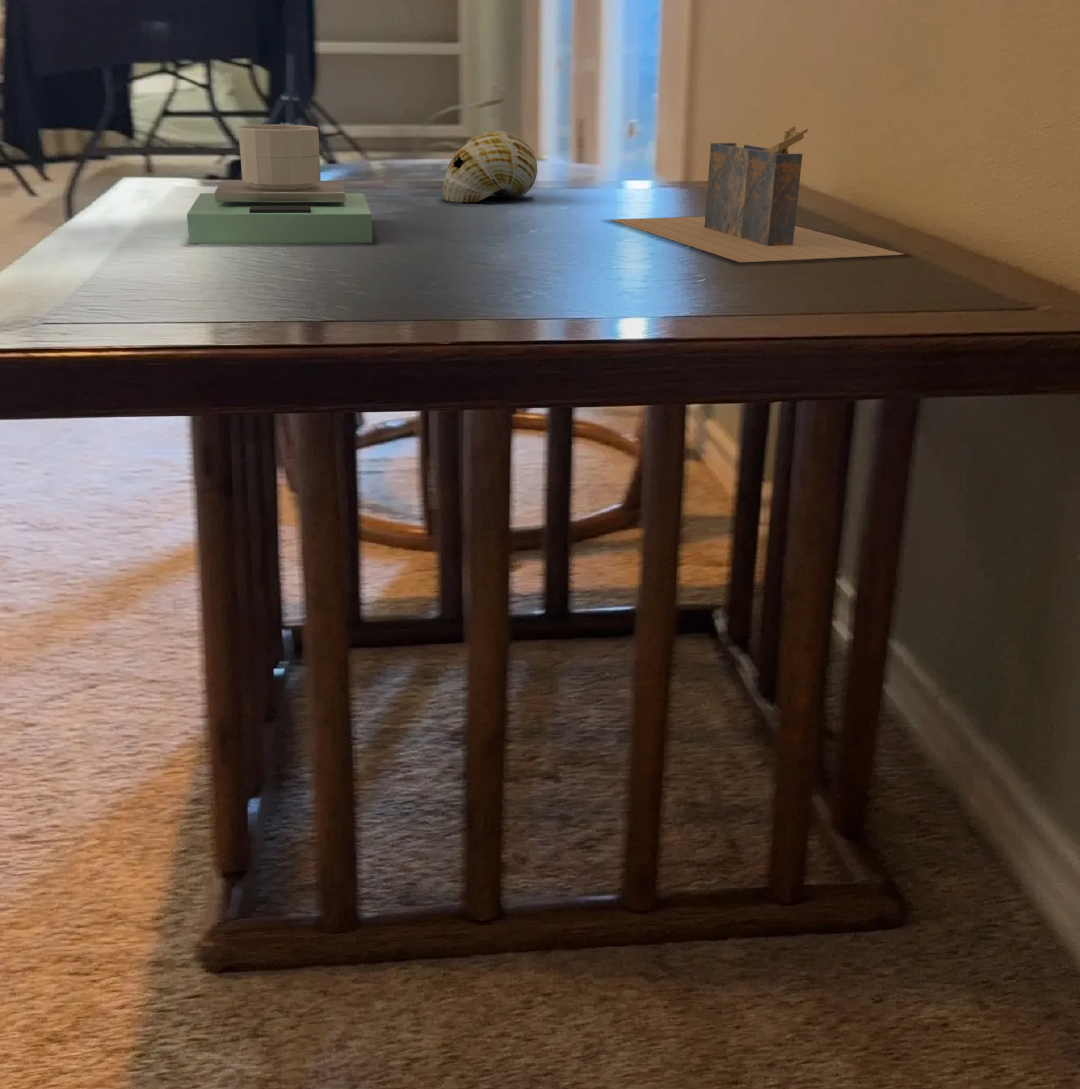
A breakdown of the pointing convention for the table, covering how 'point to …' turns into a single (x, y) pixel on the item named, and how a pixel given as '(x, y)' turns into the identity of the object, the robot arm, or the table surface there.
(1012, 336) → the table surface
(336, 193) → the pan
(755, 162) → the ruin model on sheet
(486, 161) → the seashell
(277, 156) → the bowl
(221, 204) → the scale
